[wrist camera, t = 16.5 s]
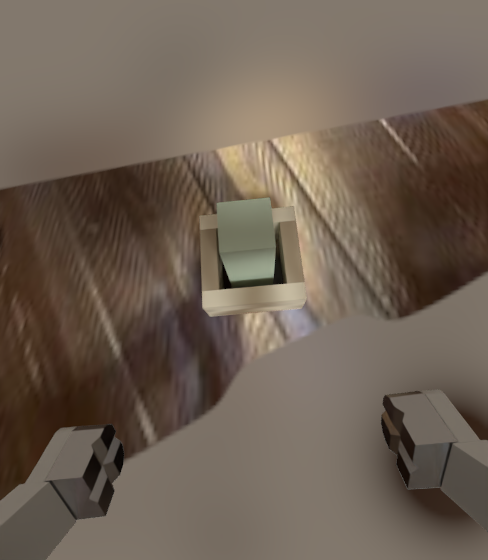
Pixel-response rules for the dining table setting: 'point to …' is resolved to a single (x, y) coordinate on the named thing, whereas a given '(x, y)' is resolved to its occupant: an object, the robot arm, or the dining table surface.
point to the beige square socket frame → (256, 297)
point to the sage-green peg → (247, 241)
